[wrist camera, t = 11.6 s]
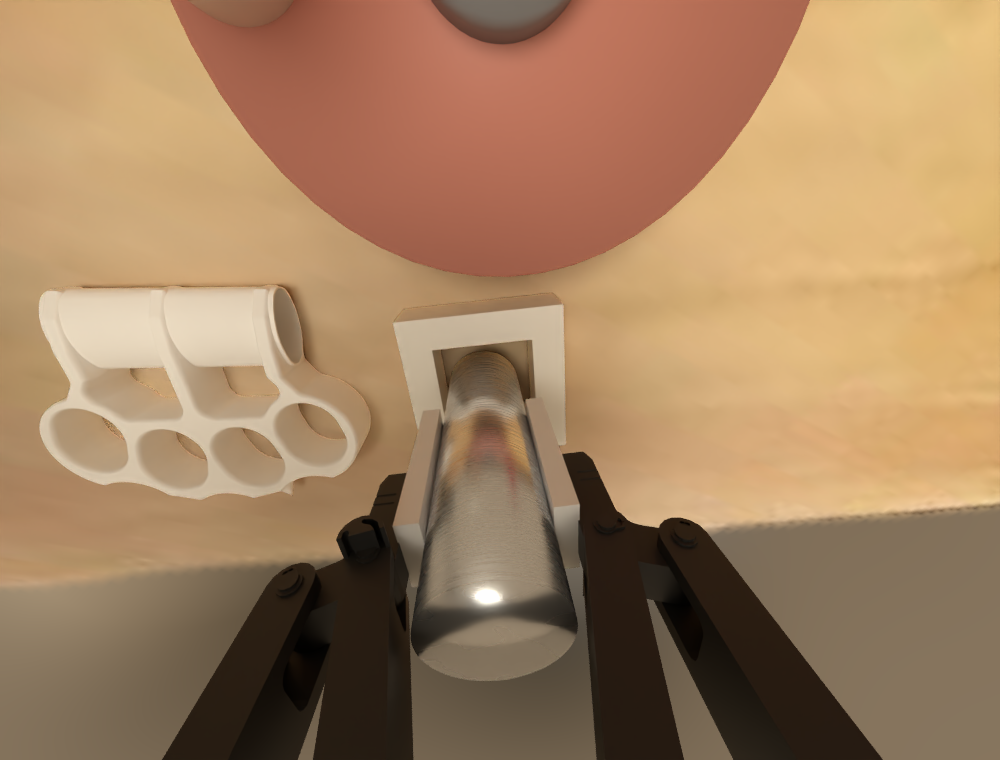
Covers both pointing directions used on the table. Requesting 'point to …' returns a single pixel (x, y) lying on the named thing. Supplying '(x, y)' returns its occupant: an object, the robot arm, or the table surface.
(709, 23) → the handwheel
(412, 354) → the eye block
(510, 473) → the steel pin
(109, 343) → the knuckle duster
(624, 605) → the robot arm
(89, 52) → the table surface
